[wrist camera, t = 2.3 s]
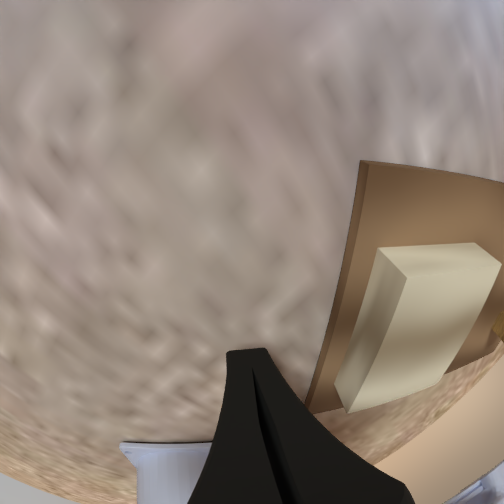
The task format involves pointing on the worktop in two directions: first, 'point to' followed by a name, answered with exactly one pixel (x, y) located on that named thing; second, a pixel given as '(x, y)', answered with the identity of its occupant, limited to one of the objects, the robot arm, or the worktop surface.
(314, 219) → the worktop surface
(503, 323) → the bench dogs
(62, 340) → the worktop surface
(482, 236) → the bench board
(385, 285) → the ivory block
